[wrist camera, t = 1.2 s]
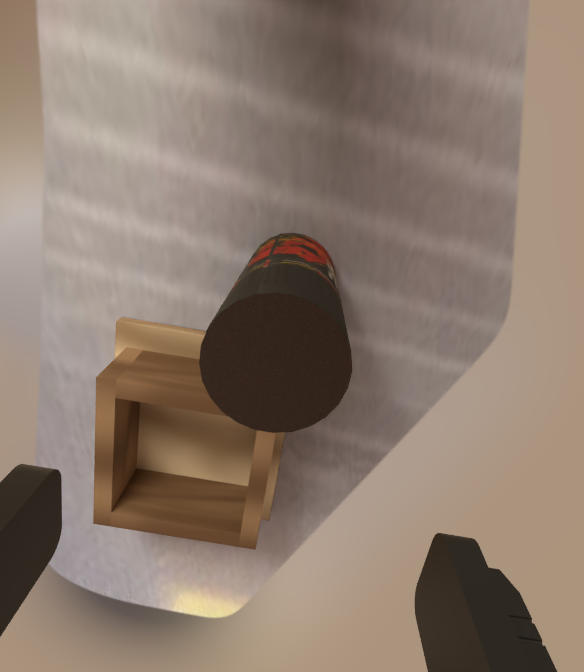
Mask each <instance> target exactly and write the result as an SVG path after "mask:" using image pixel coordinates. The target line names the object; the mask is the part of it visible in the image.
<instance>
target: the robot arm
mask: <svg viewBox="0 0 584 672" xmlns="http://www.w3.org/2000/svg"><path fill="white" fill-rule="evenodd" d="M61 529H62V499H61V474H60V471H59V470H56V469H50V468H44V467H38V466H32V465H25V464H20V465H18V466H16V467H15V468H14V469H13V470H12V471H11V472H10V473H9V474H8V475H7V476H6V477H5V478H4V479H3V480H2V481H1V482H0V636H1V635H2V633H3V632H4V630H5V629H6V627H7V626H8V624H9V623H10V621H11V620H12V618H13V616H14V615H15V613H16V612H17V610H18V609H19V607H20V606H21V604H22V603H23V601H24V600H25V598H26V597H27V595H28V593H29V592H30V590H31V589H32V587H33V586H34V584H35V583H36V581H37V580H38V578H39V577H40V575H41V574H42V572H43V571H44V569H45V567H46V566H47V564H48V563H49V561H50V560H51V558H52V556H53V554H54V552H55V550H56V548H57V545H58V542H59V539H60V535H61ZM415 615H416V620H417V624H418V629H419V633H420V638H421V642H422V647H423V651H424V656H425V660H426V665H427V669H428V672H557V670H556V668H555V666H554V664H553V662H552V660H551V658H550V656H549V654H548V651H547V649H546V647H545V646H543V645H542V639H541V637H540V635H539V632H538V630H537V628H536V626H535V624H533V623H532V618H531V616H530V614H529V612H528V609H527V607H526V605H525V603H524V601H523V599H522V597H521V595H520V593H519V592H518V591H517V589H516V588H515V587H514V586H513V585H512V584H511V583H510V581H509V580H508V579H507V578H506V577H505V575H504V574H503V573H502V572H501V571H500V570H499V569H493V568H488V566H487V564H486V561H485V559H484V556H483V554H482V552H481V550H480V547H479V545H478V543H477V542H476V540H474V539H472V538H466V537H460V536H454V535H448V534H442V533H438V534H436V535H435V536H434V538H433V541H432V543H431V546H430V549H429V552H428V555H427V558H426V561H425V563H424V566H423V569H422V572H421V575H420V578H419V580H418V583H417V587H416V592H415Z"/></svg>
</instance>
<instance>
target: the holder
mask: <svg viewBox="0 0 584 672" xmlns="http://www.w3.org/2000/svg"><path fill="white" fill-rule="evenodd" d="M205 334H206V331H200V330H194V329H189V328H183V327H177V326H171V325H165V324H159V323H153V322H147V321H141V320H135V319H129V318H123V317H121V318H120V319H119V320H118V321H116V341H115V359H114V360H113V361H112V362H111V363H110V364H109V365H108V366H107V367H106V368H105V369H104V370H103V371H102V372H101V373H100V374H99V375H98V376H97V377H96V421H95V471H94V521H93V524H99V525H106V526H112V527H118V528H124V529H131V530H137V531H143V532H149V533H156V534H162V535H168V536H174V537H181V538H187V539H193V540H199V541H206V542H212V543H218V544H224V545H231V546H237V547H243V548H250V549H255V548H256V542H257V537H258V531H259V525H260V520H261V519H263V520H269V517H270V512H271V506H272V501H273V495H274V490H275V485H276V479H277V474H278V469H279V463H280V458H281V452H282V447H283V442H284V436H285V432H280V433H271V432H265V431H258V430H254V429H251V428H249V427H247V426H244V425H242V424H239V423H237V422H236V421H234V420H233V419H232V418H230V417H229V416H227V415H226V414H225V413H223V412H222V411H221V410H220V409H219V407H218V406H217V405H216V404H215V403H214V402H213V400H212V399H211V398H210V396H209V394H208V392H207V390H206V388H205V386H204V384H203V382H202V377H201V371H200V366H199V359H200V349H201V343H202V341H203V339H204V336H205Z"/></svg>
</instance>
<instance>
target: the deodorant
mask: <svg viewBox="0 0 584 672" xmlns="http://www.w3.org/2000/svg"><path fill="white" fill-rule="evenodd" d="M199 366H200V371H201V377H202V382H203V384H204V386H205V388H206V390H207V392H208V394H209V396H210V398H211V399H212V400H213V402H214V403H215V404H216V405H217V406H218V407H219V409H220V410H221V411H222V412H223V413H225V414H226V415H227V416H229V417H230V418H232V419H233V420H234V421H236V422H237V423H239V424H242V425H244V426H247V427H249V428H251V429H254V430H258V431H265V432H271V433H280V432H293V431H296V430H300V429H303V428H306V427H309V426H312V425H313V424H315V423H317V422H318V421H320V420H322V419H323V418H325V417H326V416H327V415H328V414H329V413H330V412H331V411H332V410H333V409H334V408H335V407H336V406H337V405H338V404H339V403H340V401H341V399H342V398H343V396H344V394H345V392H346V390H347V389H348V385H349V381H350V377H351V373H352V359H351V349H350V344H349V339H348V334H347V329H346V324H345V319H344V315H343V310H342V305H341V300H340V295H339V290H338V285H337V280H336V276H335V271H334V267H333V264H332V261H331V258H330V256H329V254H328V253H327V252H326V250H325V249H324V247H323V246H321V245H320V244H319V243H318V242H317V241H315V240H314V239H312V238H310V237H307V236H305V235H301V234H295V233H288V234H280V235H277V236H275V237H272V238H270V239H268V240H267V241H266V242H264V243H263V244H262V245H261V246H260V247H259V248H258V249H257V251H256V252H255V253H254V254H253V256H252V258H251V259H250V261H249V263H248V264H247V266H246V267H245V269H244V271H243V272H242V274H241V275H240V277H239V279H238V280H237V282H236V283H235V285H234V287H233V288H232V290H231V291H230V293H229V295H228V296H227V298H226V300H225V301H224V303H223V304H222V306H221V308H220V309H219V311H218V312H217V314H216V316H215V317H214V319H213V320H212V322H211V324H210V325H209V327H208V329H207V331H206V334H205V336H204V339H203V341H202V343H201V349H200V359H199Z"/></svg>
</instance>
